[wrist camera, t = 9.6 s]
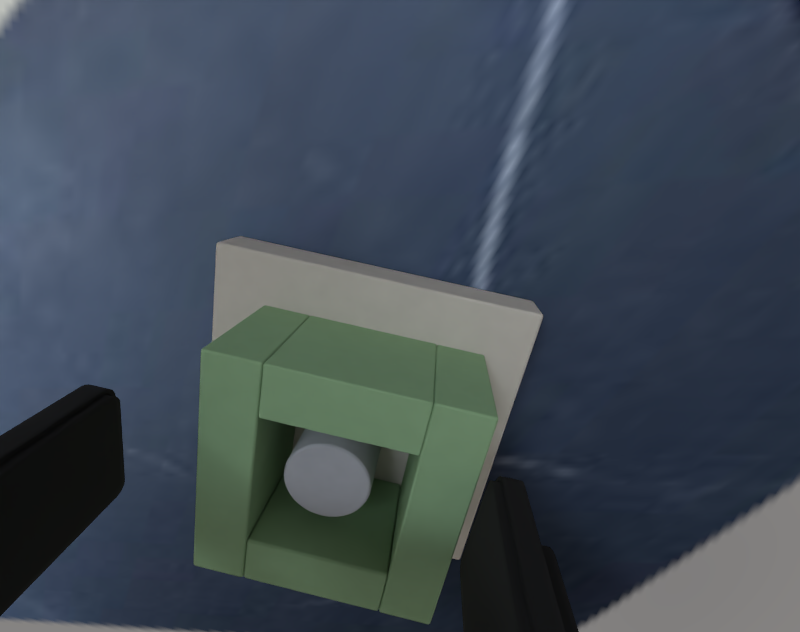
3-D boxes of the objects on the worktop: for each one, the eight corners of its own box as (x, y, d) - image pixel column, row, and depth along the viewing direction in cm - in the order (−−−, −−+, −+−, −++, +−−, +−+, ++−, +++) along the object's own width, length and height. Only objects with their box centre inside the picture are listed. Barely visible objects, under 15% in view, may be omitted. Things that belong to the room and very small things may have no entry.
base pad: (239, 234, 13) (144, 260, 9) (534, 300, 13) (576, 359, 9) (224, 471, 17) (149, 570, 13) (458, 528, 16) (463, 649, 12)
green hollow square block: (264, 304, 12) (199, 348, 9) (484, 354, 12) (499, 418, 9) (248, 480, 15) (192, 566, 12) (433, 525, 15) (429, 626, 11)
